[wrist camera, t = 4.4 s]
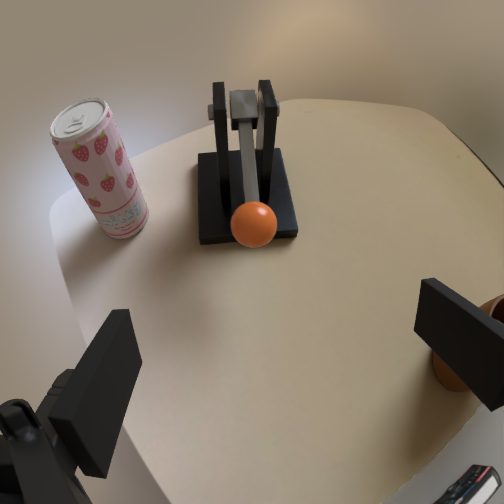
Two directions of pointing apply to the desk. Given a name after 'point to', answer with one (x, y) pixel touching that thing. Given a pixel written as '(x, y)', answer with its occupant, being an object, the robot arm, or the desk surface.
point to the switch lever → (249, 176)
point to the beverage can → (100, 166)
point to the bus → (463, 467)
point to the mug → (498, 309)
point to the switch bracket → (230, 173)
